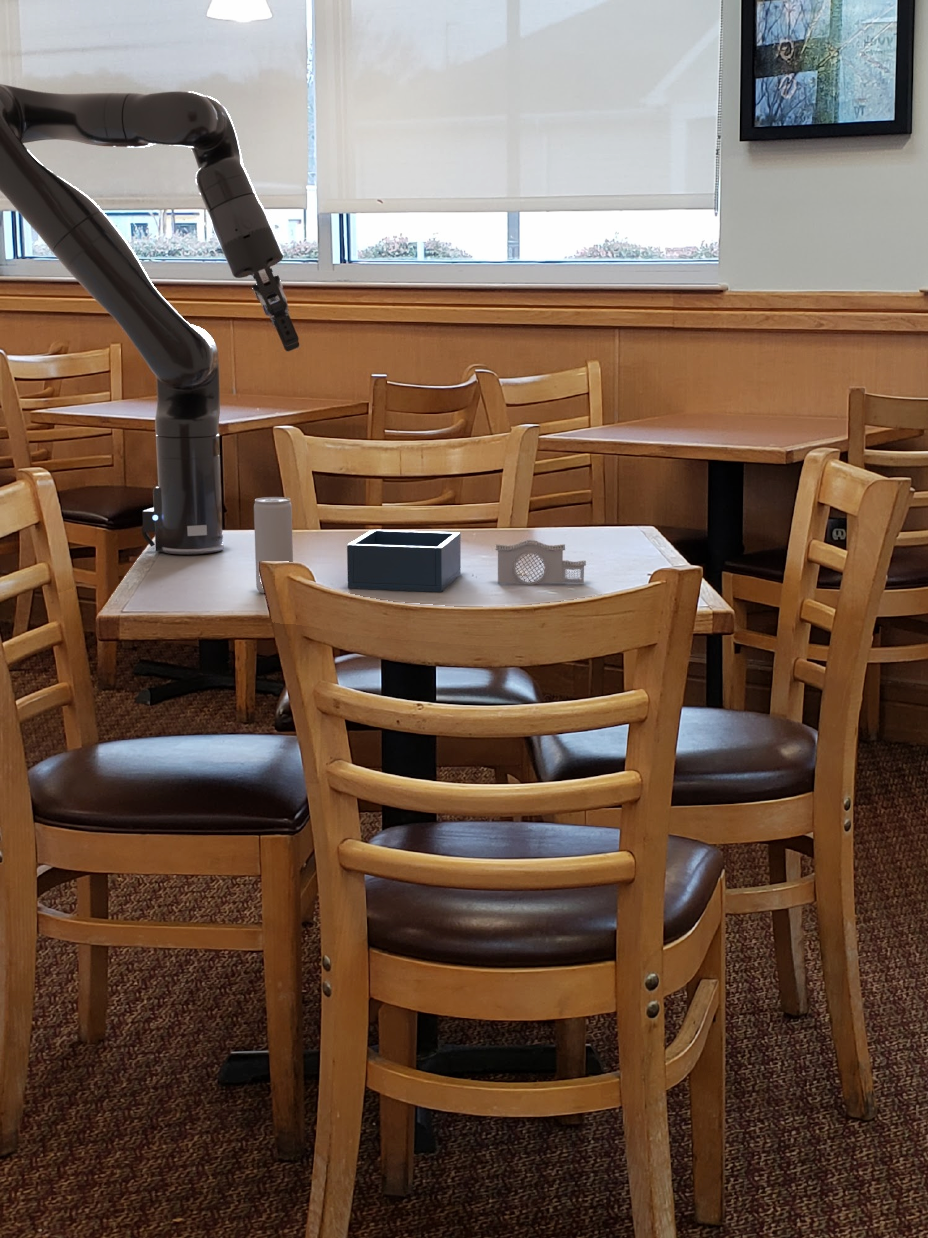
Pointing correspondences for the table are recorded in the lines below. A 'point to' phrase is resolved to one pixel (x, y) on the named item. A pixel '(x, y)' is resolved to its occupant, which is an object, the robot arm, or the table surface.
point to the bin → (404, 560)
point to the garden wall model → (547, 553)
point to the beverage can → (272, 531)
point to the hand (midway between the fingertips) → (292, 346)
